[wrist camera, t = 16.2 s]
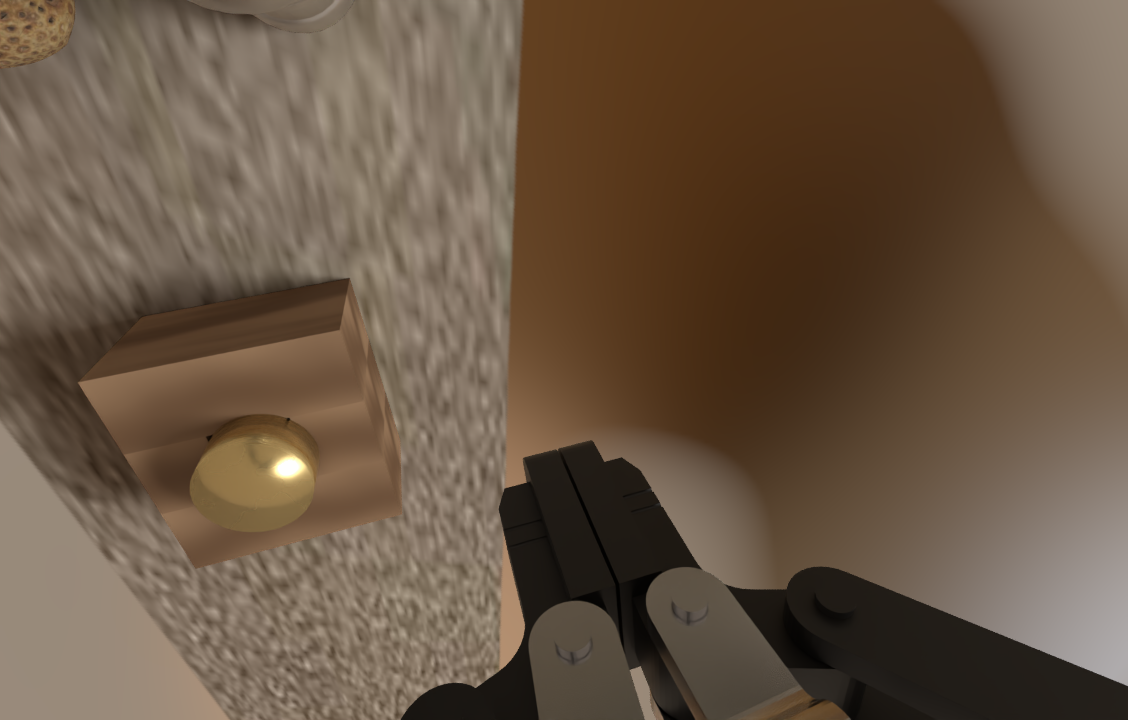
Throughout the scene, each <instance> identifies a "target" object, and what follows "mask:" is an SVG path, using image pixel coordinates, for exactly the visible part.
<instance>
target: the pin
mask: <svg viewBox="0 0 1128 720" xmlns="http://www.w3.org/2000/svg"><path fill="white" fill-rule="evenodd" d="M319 461H320V453H319V448H318V445H317V443H316V441H315V439H314V438H313V436H312V435H311V434H310V433H309V432H308V431H307V430H306V429H305V428H304V427H303V426H301V425H299V424H298V423H296V422H294V421H292V420H290V418H284V417H281V416H277V415H270V414H252V415H246V416H242V417H238V418H236V419H233V420H231V421H229V422H227V423H225V424H224V425H222V426H221V427H220V428H219V429H218V430H217V431H215V433H214V434H213V435H212V436H211V438H210V440H209V442H208V444H207V446H206V448H205V450H204V452H203V454H202V456H201V458H200V461H199V463H198V465H197V467H196V469H195V471H194V473H193V475H192V478H191V481H190V495H191V499H192V501H193V503H194V505H195V507H196V508H197V510H198V511H199V512H200V513H201V514H202V515H203V516H204V517H206V518H207V519H208V520H210V521H211V522H213V523H215V524H217V525H219V526H221V527H224V528H227V529H231V530H235V531H241V532H263V531H269V530H274V529H277V528H280V527H283V526H285V525H288V524H289V523H291V522H293V521H295V520H296V519H297V518H299V517H300V516H301V515H302V514H303V513H304V512H305V511H306V510H307V508H308V507H309V505H310V503H311V501H312V498H313V494H314V488H315V483H316V477H317V472H318V466H319Z"/></svg>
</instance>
